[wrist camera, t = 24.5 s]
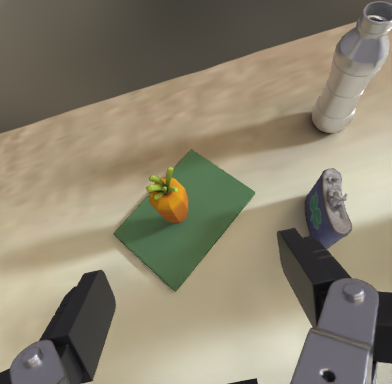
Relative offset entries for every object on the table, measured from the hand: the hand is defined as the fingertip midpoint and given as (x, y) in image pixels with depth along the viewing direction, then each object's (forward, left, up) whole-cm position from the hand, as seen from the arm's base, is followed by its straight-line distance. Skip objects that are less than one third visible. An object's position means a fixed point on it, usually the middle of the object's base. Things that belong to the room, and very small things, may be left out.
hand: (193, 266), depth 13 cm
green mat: (+13, -6, -31) cm, 34 cm away
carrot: (+13, -5, -30) cm, 33 cm away
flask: (-4, -18, -31) cm, 36 cm away
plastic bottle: (+4, -35, -31) cm, 47 cm away
